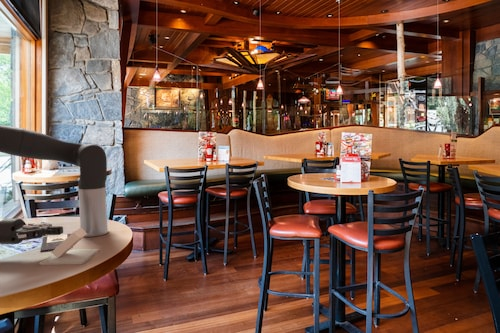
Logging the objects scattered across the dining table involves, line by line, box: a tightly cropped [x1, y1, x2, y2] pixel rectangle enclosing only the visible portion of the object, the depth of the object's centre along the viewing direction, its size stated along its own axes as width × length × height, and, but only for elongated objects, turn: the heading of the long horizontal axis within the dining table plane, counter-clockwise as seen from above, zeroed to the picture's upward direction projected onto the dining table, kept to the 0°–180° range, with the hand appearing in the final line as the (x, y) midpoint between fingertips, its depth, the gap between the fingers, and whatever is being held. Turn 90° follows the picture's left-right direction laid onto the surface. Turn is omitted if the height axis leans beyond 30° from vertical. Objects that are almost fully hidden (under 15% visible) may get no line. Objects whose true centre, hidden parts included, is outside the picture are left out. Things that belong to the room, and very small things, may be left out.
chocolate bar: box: [39, 233, 72, 253], centre depth 125 cm, size 9×1×18 cm
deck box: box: [51, 227, 87, 258], centre depth 109 cm, size 5×3×9 cm
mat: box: [38, 248, 100, 266], centre depth 109 cm, size 12×12×1 cm
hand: (61, 230), depth 108 cm, fingers closed
